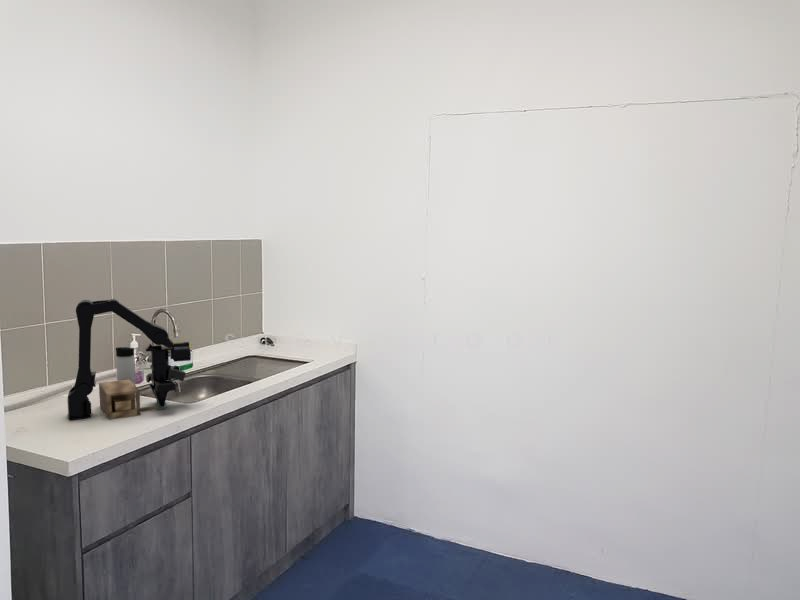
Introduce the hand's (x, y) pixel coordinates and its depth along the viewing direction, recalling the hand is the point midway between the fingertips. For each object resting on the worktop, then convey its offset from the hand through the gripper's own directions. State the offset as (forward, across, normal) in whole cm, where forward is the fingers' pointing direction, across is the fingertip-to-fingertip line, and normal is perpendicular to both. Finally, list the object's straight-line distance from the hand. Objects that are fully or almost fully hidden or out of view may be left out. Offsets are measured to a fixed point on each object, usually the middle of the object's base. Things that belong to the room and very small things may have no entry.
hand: (161, 405), depth 225 cm
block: (+1, 0, +7) cm, 7 cm away
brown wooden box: (+1, +4, +13) cm, 14 cm away
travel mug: (+1, +19, +8) cm, 21 cm away
